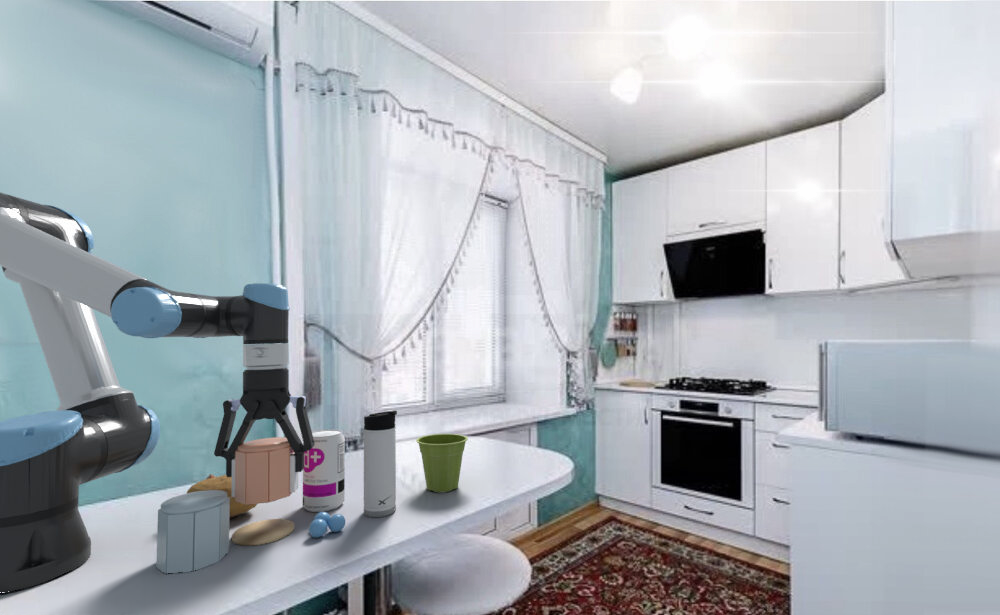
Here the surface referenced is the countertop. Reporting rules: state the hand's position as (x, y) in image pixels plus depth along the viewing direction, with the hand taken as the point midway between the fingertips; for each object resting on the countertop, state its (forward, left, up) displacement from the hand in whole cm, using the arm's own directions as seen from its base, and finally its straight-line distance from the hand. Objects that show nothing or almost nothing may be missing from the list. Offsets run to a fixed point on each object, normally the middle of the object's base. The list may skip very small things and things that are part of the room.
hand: (265, 492), depth 84 cm
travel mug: (+20, +6, -7) cm, 22 cm away
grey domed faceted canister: (-8, -8, -7) cm, 14 cm away
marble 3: (+13, -2, -7) cm, 15 cm away
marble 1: (+10, 0, -7) cm, 12 cm away
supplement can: (+8, +12, -7) cm, 16 cm away
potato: (-10, +10, -7) cm, 16 cm away
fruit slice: (-17, +21, -8) cm, 28 cm away
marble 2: (+10, -4, -7) cm, 13 cm away
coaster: (0, 0, -7) cm, 7 cm away
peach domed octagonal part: (0, 0, 0) cm, 0 cm away
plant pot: (+33, +18, -7) cm, 38 cm away
